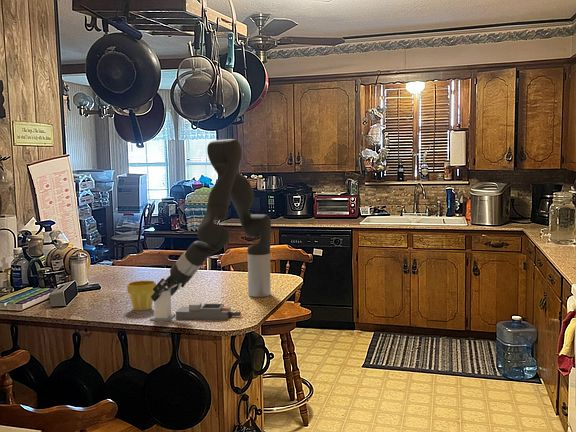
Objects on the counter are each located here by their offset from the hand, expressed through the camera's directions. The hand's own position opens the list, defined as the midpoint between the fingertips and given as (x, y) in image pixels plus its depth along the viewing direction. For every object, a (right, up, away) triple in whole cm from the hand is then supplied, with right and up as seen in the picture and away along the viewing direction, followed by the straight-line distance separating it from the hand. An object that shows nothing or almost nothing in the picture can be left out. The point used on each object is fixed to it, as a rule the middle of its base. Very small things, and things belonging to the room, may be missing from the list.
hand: (161, 296), depth 199 cm
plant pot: (-10, -7, +15) cm, 19 cm away
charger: (0, -7, 0) cm, 7 cm away
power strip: (+17, -7, +2) cm, 18 cm away
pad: (0, -8, 0) cm, 8 cm away
